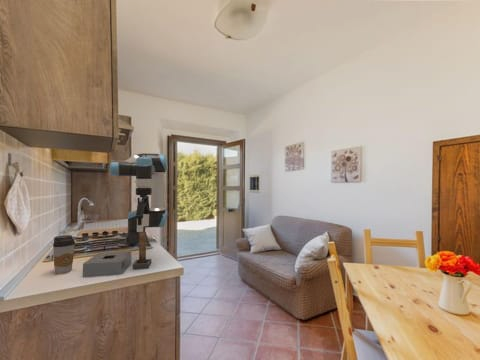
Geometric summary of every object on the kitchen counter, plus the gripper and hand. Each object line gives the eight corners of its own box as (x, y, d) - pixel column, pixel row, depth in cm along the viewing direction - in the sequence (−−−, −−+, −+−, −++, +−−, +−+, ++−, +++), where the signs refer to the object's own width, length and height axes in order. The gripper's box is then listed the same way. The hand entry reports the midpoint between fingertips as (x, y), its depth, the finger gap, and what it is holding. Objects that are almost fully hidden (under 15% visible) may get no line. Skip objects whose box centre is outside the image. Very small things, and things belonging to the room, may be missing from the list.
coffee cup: (54, 276, 98) (55, 243, 99) (49, 272, 103) (50, 240, 104) (76, 271, 105) (77, 239, 105) (71, 267, 110) (72, 237, 110)
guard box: (97, 264, 113) (98, 253, 114) (131, 262, 117) (131, 251, 117) (82, 277, 98) (82, 263, 98) (121, 274, 101) (121, 261, 101)
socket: (136, 264, 114) (136, 259, 114) (151, 263, 116) (151, 258, 116) (132, 269, 107) (132, 264, 107) (148, 268, 109) (148, 263, 109)
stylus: (139, 265, 113) (140, 232, 113) (146, 265, 113) (146, 232, 114) (138, 267, 110) (138, 233, 110) (144, 267, 110) (145, 233, 111)
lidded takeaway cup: (67, 254, 130) (68, 234, 130) (75, 256, 126) (76, 235, 127) (49, 259, 122) (50, 237, 122) (56, 261, 118) (57, 239, 119)
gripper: (141, 186, 124) (141, 224, 124) (128, 187, 100) (128, 234, 99) (155, 186, 126) (155, 224, 125) (146, 188, 101) (145, 234, 101)
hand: (143, 228), depth 112 cm, fingers open, 13 cm apart
